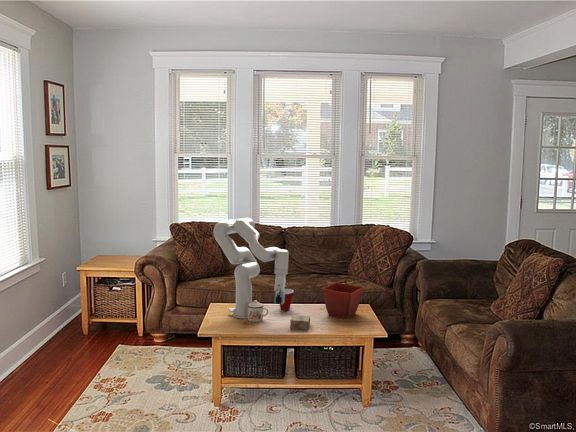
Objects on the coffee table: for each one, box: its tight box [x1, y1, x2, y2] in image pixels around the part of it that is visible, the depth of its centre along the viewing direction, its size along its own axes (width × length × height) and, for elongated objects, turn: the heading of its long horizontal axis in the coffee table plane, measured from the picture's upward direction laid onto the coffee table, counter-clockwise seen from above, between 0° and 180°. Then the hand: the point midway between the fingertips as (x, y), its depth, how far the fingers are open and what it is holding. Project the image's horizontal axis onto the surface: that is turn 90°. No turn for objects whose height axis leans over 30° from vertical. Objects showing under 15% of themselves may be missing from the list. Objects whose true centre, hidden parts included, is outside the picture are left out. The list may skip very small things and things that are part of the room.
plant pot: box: [321, 282, 364, 319], centre depth 328 cm, size 19×19×17 cm
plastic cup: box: [279, 288, 294, 311], centre depth 337 cm, size 11×11×12 cm
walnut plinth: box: [289, 314, 311, 331], centre depth 304 cm, size 10×10×5 cm
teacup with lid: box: [247, 299, 269, 323], centre depth 314 cm, size 12×9×12 cm
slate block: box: [273, 290, 285, 305], centre depth 307 cm, size 5×5×6 cm
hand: (279, 301), depth 308 cm, fingers closed on slate block, 5 cm apart
